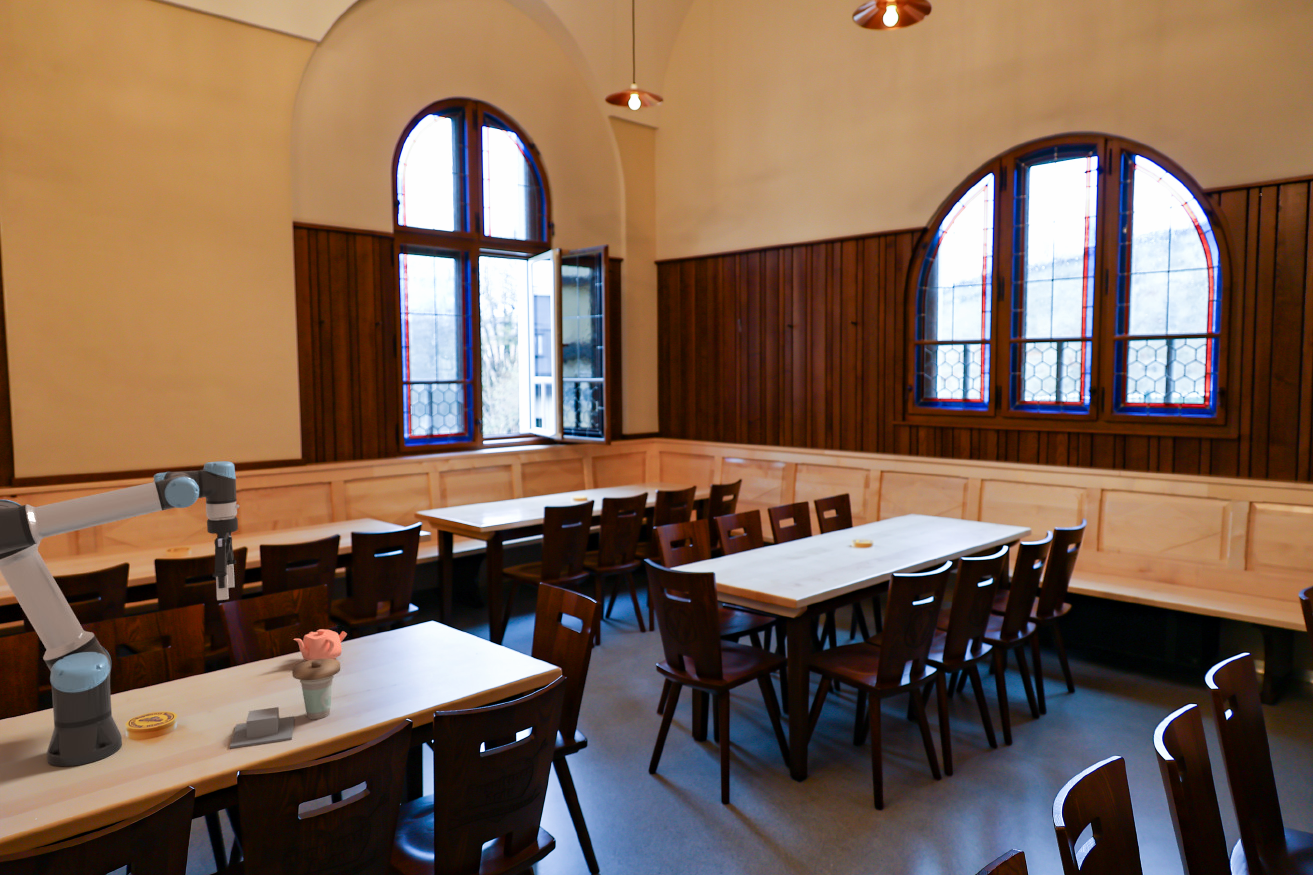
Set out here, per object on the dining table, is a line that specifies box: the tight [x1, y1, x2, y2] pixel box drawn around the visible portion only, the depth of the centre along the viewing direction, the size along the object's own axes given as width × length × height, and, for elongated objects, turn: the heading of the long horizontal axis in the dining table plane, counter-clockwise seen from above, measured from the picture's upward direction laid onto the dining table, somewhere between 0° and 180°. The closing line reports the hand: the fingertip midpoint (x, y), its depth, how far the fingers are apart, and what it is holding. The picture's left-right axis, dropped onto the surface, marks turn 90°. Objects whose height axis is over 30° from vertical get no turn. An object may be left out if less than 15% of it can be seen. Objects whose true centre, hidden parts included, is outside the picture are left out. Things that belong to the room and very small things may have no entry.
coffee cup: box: [299, 675, 335, 720], centre depth 226 cm, size 9×8×12 cm
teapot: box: [293, 629, 348, 661], centre depth 269 cm, size 14×12×10 cm
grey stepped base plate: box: [229, 706, 295, 750], centre depth 215 cm, size 14×14×5 cm
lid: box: [291, 659, 341, 681], centre depth 225 cm, size 12×12×3 cm
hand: (226, 593), depth 232 cm, fingers open, 13 cm apart
